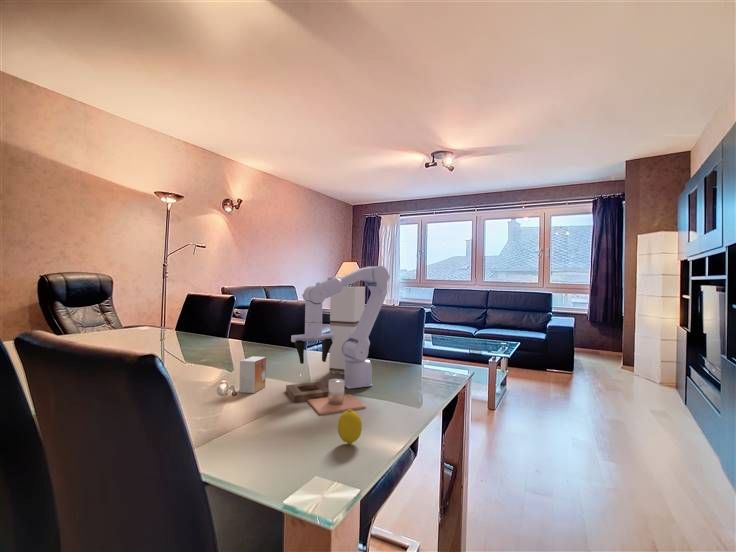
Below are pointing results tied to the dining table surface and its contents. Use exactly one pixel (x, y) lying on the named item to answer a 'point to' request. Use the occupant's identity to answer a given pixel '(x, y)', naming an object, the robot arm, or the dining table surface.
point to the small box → (252, 374)
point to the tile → (326, 408)
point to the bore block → (307, 391)
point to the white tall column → (344, 322)
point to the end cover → (336, 391)
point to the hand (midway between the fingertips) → (312, 362)
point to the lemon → (349, 426)
